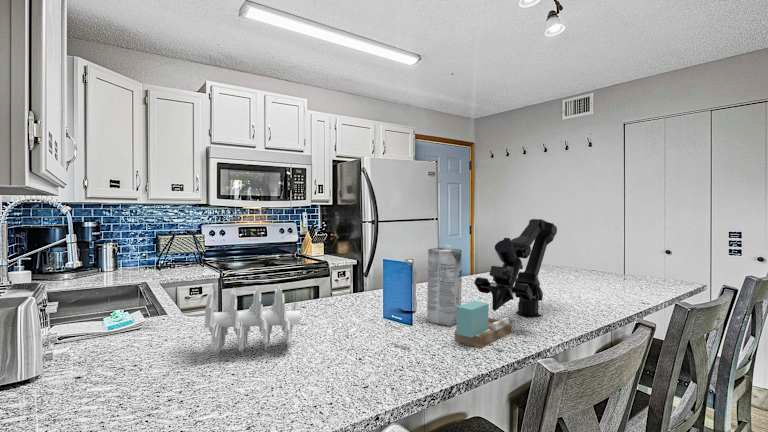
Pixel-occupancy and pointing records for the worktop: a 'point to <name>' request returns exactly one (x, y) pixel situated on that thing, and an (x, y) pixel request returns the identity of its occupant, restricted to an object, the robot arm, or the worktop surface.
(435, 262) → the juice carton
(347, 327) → the worktop surface
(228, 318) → the white sculpted piece
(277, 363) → the worktop surface
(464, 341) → the brown tray
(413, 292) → the plastic bottle
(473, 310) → the teal block
